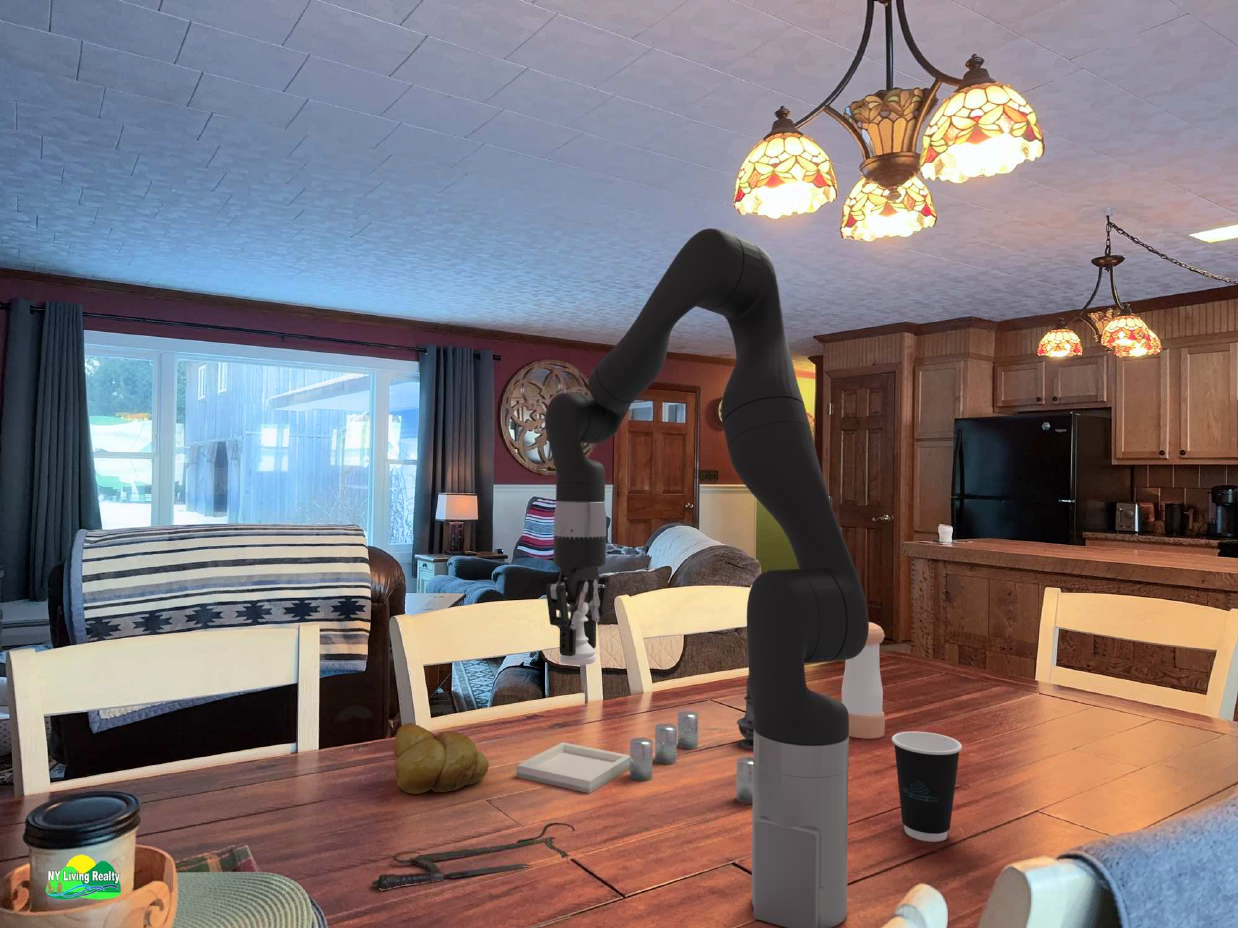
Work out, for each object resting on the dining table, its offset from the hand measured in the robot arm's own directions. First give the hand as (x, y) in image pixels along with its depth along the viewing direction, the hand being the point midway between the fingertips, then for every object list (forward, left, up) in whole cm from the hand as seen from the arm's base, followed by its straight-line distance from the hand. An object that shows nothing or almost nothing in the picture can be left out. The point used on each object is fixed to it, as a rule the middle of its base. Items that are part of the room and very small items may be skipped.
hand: (578, 651), depth 121 cm
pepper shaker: (+41, -31, -17) cm, 54 cm away
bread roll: (-14, +13, -17) cm, 26 cm away
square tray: (0, 0, -17) cm, 17 cm away
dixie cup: (+4, -47, -17) cm, 50 cm away
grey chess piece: (+25, -18, -17) cm, 35 cm away
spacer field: (+11, -17, -17) cm, 26 cm away
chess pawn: (0, 0, -2) cm, 2 cm away
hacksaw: (-28, -5, -18) cm, 33 cm away
